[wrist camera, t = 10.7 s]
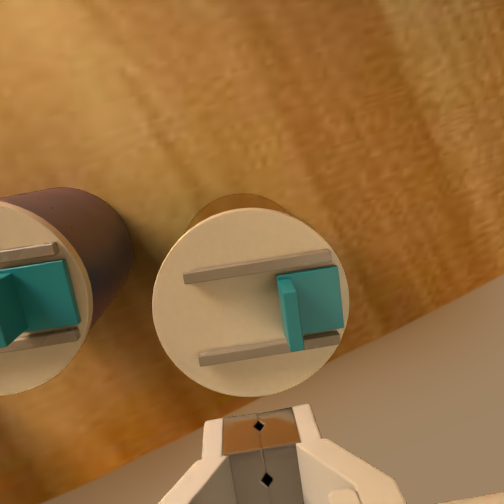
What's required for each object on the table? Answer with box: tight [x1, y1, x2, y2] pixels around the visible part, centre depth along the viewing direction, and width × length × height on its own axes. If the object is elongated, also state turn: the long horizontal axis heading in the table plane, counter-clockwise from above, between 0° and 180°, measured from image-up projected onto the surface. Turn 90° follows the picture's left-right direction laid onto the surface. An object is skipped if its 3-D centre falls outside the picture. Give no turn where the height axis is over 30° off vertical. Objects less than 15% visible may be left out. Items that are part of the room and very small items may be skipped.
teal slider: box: [276, 265, 344, 352], centre depth 22 cm, size 3×3×3 cm
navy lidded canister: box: [0, 188, 133, 396], centre depth 28 cm, size 10×10×13 cm
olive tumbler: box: [152, 194, 349, 397], centre depth 29 cm, size 10×10×13 cm
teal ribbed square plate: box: [0, 258, 81, 348], centre depth 21 cm, size 3×3×3 cm
